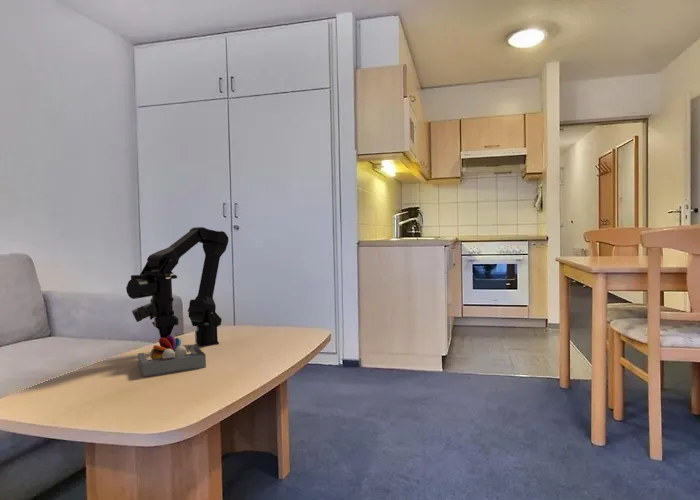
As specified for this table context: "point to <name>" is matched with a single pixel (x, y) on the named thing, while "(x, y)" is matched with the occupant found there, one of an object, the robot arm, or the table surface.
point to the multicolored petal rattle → (168, 348)
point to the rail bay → (172, 363)
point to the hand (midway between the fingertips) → (164, 345)
